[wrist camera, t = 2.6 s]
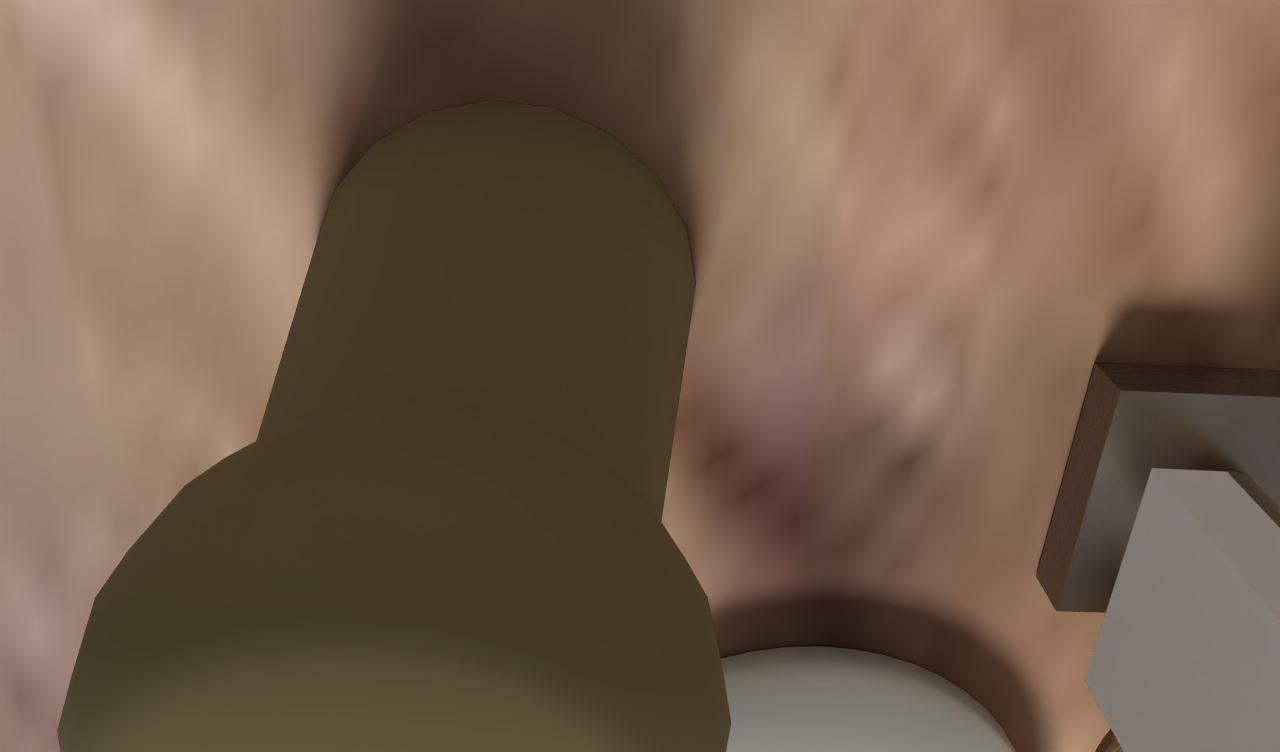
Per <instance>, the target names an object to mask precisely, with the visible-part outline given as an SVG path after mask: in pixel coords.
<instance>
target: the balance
mask: <svg viewBox="0 0 1280 752" xmlns="http://www.w3.org/2000/svg"><path fill="white" fill-rule="evenodd" d="M1152 468H1161V469H1182V470H1203V471H1224V472H1228V473H1229V474H1230V476H1231V477H1232V478H1233V479H1234V480H1235V481H1236V482H1237V483H1238V484H1239V485H1240V486H1241V487H1242V488H1243V489H1244V490H1245V491H1246V493H1247V494H1248V495H1249V496H1250V497H1251V498H1252V499H1253V500H1254V501H1255V502H1256V503H1257V504H1258V505H1259V506H1260V507H1261V508H1262V510H1263V511H1264V512H1265V513H1266V514H1267V515H1268V516H1269V517H1270V518H1271V519H1272V520H1273V521H1274V522H1275V523H1276V524H1277V525H1278V527H1279V528H1280V371H1268V370H1245V369H1222V368H1199V367H1175V366H1152V365H1129V364H1106V363H1095V365H1094V369H1093V372H1092V376H1091V380H1090V383H1089V387H1088V390H1087V394H1086V398H1085V401H1084V405H1083V408H1082V412H1081V416H1080V419H1079V423H1078V427H1077V430H1076V434H1075V437H1074V441H1073V445H1072V448H1071V452H1070V455H1069V459H1068V463H1067V466H1066V470H1065V474H1064V477H1063V481H1062V484H1061V488H1060V492H1059V495H1058V499H1057V502H1056V506H1055V510H1054V513H1053V517H1052V521H1051V524H1050V528H1049V531H1048V535H1047V539H1046V542H1045V546H1044V550H1043V553H1042V557H1041V560H1040V564H1039V568H1038V571H1037V575H1036V577H1037V579H1038V581H1039V582H1040V584H1041V586H1042V587H1043V589H1044V591H1045V593H1046V594H1047V596H1048V598H1049V599H1050V601H1051V603H1052V605H1053V606H1054V608H1055V610H1056V611H1072V612H1104V613H1106V610H1107V607H1108V604H1109V601H1110V598H1111V595H1112V592H1113V588H1114V585H1115V582H1116V579H1117V576H1118V573H1119V570H1120V566H1121V563H1122V560H1123V557H1124V554H1125V551H1126V548H1127V544H1128V541H1129V538H1130V535H1131V532H1132V529H1133V526H1134V522H1135V519H1136V516H1137V513H1138V510H1139V507H1140V504H1141V501H1142V497H1143V494H1144V491H1145V488H1146V485H1147V482H1148V479H1149V475H1150V472H1151V469H1152ZM1095 752H1123V750H1122V748H1121V746H1120V744H1119V742H1118V740H1117V739H1116V737H1115V735H1114V733H1113V731H1112V729H1110V730H1109V732H1108V733H1107V734H1106V735H1105V737H1104V738H1103V739H1102V741H1101V742H1100V744H1099V746H1098V747H1097V749H1096V751H1095Z"/></svg>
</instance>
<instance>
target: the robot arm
mask: <svg viewBox="0 0 1280 752" xmlns="http://www.w3.org/2000/svg"><path fill="white" fill-rule="evenodd" d="M1085 681H1086V683H1087V685H1088V687H1089V689H1090V691H1091V692H1092V694H1093V696H1094V698H1095V700H1096V702H1097V703H1098V705H1099V707H1100V709H1101V711H1102V713H1103V715H1104V716H1105V718H1106V720H1107V722H1108V724H1109V726H1110V728H1111V729H1112V731H1113V733H1114V735H1115V737H1116V739H1117V740H1118V742H1119V744H1120V746H1121V748H1122V750H1123V752H1280V528H1279V527H1278V525H1277V524H1276V523H1275V522H1274V521H1273V520H1272V519H1271V518H1270V517H1269V516H1268V515H1267V514H1266V513H1265V512H1264V511H1263V510H1262V508H1261V507H1260V506H1259V505H1258V504H1257V503H1256V502H1255V501H1254V500H1253V499H1252V498H1251V497H1250V496H1249V495H1248V494H1247V493H1246V491H1245V490H1244V489H1243V488H1242V487H1241V486H1240V485H1239V484H1238V483H1237V482H1236V481H1235V480H1234V479H1233V478H1232V477H1231V476H1230V474H1229V473H1228V472H1224V471H1203V470H1182V469H1161V468H1152V469H1151V472H1150V475H1149V479H1148V482H1147V485H1146V488H1145V491H1144V494H1143V497H1142V501H1141V504H1140V507H1139V510H1138V513H1137V516H1136V519H1135V522H1134V526H1133V529H1132V532H1131V535H1130V538H1129V541H1128V544H1127V548H1126V551H1125V554H1124V557H1123V560H1122V563H1121V566H1120V570H1119V573H1118V576H1117V579H1116V582H1115V585H1114V588H1113V592H1112V595H1111V598H1110V601H1109V604H1108V607H1107V610H1106V614H1105V617H1104V620H1103V623H1102V626H1101V629H1100V632H1099V636H1098V639H1097V642H1096V645H1095V648H1094V651H1093V654H1092V658H1091V661H1090V664H1089V667H1088V670H1087V673H1086V676H1085Z"/></svg>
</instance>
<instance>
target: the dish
mask: <svg viewBox="0 0 1280 752" xmlns="http://www.w3.org/2000/svg"><path fill="white" fill-rule="evenodd" d="M721 664H722V669H723V674H724V680H725V686H726V693H727V699H728V705H729V711H730V717H731V727H730V733H729V738H728V744H727V749H726V752H1016V751H1015V749H1014V747H1013V745H1012V744H1011V742H1010V740H1009V739H1008V737H1007V735H1006V733H1005V732H1004V730H1003V728H1002V727H1001V726H1000V725H999V723H998V722H997V721H996V720H995V719H994V718H993V716H992V715H991V714H990V713H989V712H988V710H987V709H986V708H985V707H983V706H982V705H981V704H980V703H979V702H978V701H976V700H975V699H974V698H973V697H972V696H971V695H969V694H968V693H967V692H966V691H964V690H963V689H961V688H959V687H958V686H956V685H955V684H953V683H951V682H950V681H948V680H947V679H945V678H943V677H942V676H939V675H937V674H935V673H933V672H931V671H928V670H926V669H924V668H922V667H920V666H917V665H915V664H912V663H909V662H906V661H902V660H899V659H896V658H893V657H890V656H887V655H882V654H877V653H872V652H866V651H861V650H856V649H847V648H834V647H822V646H813V647H783V648H775V649H767V650H759V651H751V652H747V653H743V654H738V655H734V656H730V657H725V658H721Z"/></svg>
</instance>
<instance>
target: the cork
mask: <svg viewBox="0 0 1280 752" xmlns="http://www.w3.org/2000/svg"><path fill="white" fill-rule="evenodd" d="M695 287H696V280H695V275H694V269H693V264H692V259H691V253H690V248H689V242H688V237H687V231H686V227H685V225H684V224H683V222H682V220H681V218H680V216H679V215H678V213H677V211H676V209H675V208H674V206H673V204H672V202H671V200H670V199H669V197H668V195H667V193H666V192H665V190H664V188H663V186H662V184H661V183H660V181H659V179H658V177H657V176H656V175H655V174H654V173H653V172H652V171H651V170H650V169H648V168H647V167H646V166H645V165H644V164H643V163H642V162H641V161H640V160H639V159H637V158H636V157H635V156H634V155H633V154H632V153H631V152H630V151H629V150H628V149H626V148H625V147H624V146H623V145H622V144H621V143H620V142H619V141H618V140H617V139H615V138H614V137H613V136H612V135H611V134H609V133H607V132H605V131H603V130H600V129H598V128H596V127H594V126H592V125H589V124H587V123H585V122H583V121H581V120H578V119H576V118H574V117H572V116H570V115H567V114H565V113H563V112H561V111H559V110H556V109H554V108H551V107H542V106H534V105H525V104H516V103H508V102H499V101H491V100H486V101H482V102H477V103H472V104H467V105H462V106H457V107H452V108H447V109H442V110H438V111H433V112H428V113H425V114H423V115H421V116H420V117H418V118H416V119H414V120H413V121H411V122H409V123H408V124H406V125H404V126H403V127H401V128H399V129H397V130H396V131H394V132H392V133H391V134H389V135H387V136H386V137H384V138H382V139H381V140H379V141H377V142H375V143H374V144H372V145H371V147H370V148H369V149H368V150H367V151H366V153H365V154H364V155H363V156H362V158H361V159H360V160H359V161H358V162H357V164H356V165H355V166H354V167H353V168H352V170H351V171H350V172H349V173H348V174H347V176H346V177H345V178H344V179H343V180H342V182H341V183H340V184H339V185H338V187H337V188H336V189H335V191H334V194H333V196H332V199H331V202H330V205H329V208H328V211H327V214H326V216H325V219H324V222H323V225H322V228H321V231H320V234H319V236H318V239H317V242H316V245H315V249H314V252H313V255H312V258H311V262H310V265H309V268H308V272H307V275H306V278H305V282H304V285H303V288H302V292H301V295H300V298H299V301H298V305H297V308H296V311H295V315H294V318H293V321H292V325H291V328H290V331H289V334H288V338H287V341H286V344H285V348H284V351H283V354H282V358H281V361H280V364H279V368H278V371H277V374H276V377H275V381H274V384H273V387H272V391H271V394H270V397H269V401H268V404H267V407H266V411H265V414H264V417H263V420H262V424H261V427H260V430H259V434H258V437H257V440H256V442H254V443H252V444H250V445H248V446H246V447H244V448H243V449H241V450H239V451H237V452H235V453H233V454H231V455H230V456H228V457H226V458H224V459H223V460H221V461H220V462H218V463H217V464H215V465H214V466H213V467H211V468H210V469H208V470H207V471H205V472H204V473H202V474H201V475H200V476H198V477H197V478H195V479H194V480H192V481H191V482H189V483H188V484H186V485H185V486H184V487H183V488H182V490H181V491H180V492H179V493H178V494H177V495H176V496H175V498H174V499H173V500H172V501H171V502H170V503H169V504H168V506H167V507H166V508H165V509H164V510H163V511H162V512H161V514H160V515H159V516H158V517H157V518H156V519H155V520H154V522H153V523H152V524H151V525H150V526H149V527H148V529H147V530H146V531H145V532H144V533H143V534H142V535H141V537H140V538H139V539H138V540H137V541H136V542H135V543H134V545H133V546H132V547H131V548H130V549H129V550H128V552H127V553H126V555H125V556H124V557H123V559H122V560H121V562H120V563H119V564H118V566H117V567H116V569H115V570H114V572H113V573H112V574H111V576H110V577H109V579H108V580H107V581H106V583H105V584H104V586H103V587H102V589H101V590H100V591H99V593H98V594H97V596H96V597H95V600H94V604H93V607H92V610H91V614H90V617H89V620H88V623H87V627H86V630H85V633H84V637H83V640H82V643H81V647H80V650H79V653H78V657H77V660H76V663H75V666H74V670H73V673H72V677H71V680H70V684H69V688H68V692H67V696H66V700H65V703H64V707H63V711H62V715H61V719H60V723H59V726H58V730H57V732H58V738H59V745H60V751H61V752H726V749H727V744H728V738H729V733H730V727H731V717H730V711H729V705H728V699H727V693H726V686H725V680H724V674H723V669H722V664H721V659H720V654H719V650H718V645H717V640H716V635H715V630H714V626H713V621H712V616H711V611H710V606H709V602H708V597H707V595H706V594H705V592H704V590H703V588H702V587H701V585H700V583H699V582H698V580H697V578H696V576H695V575H694V573H693V571H692V569H691V568H690V566H689V564H688V562H687V561H686V559H685V557H684V556H683V554H682V553H681V551H680V550H679V548H678V547H677V545H676V544H675V542H674V541H673V539H672V538H671V536H670V535H669V533H668V532H667V530H666V529H665V527H664V526H663V524H662V523H661V520H662V513H663V506H664V500H665V493H666V486H667V479H668V472H669V465H670V458H671V452H672V445H673V438H674V431H675V424H676V417H677V410H678V403H679V397H680V390H681V383H682V376H683V369H684V362H685V355H686V349H687V342H688V335H689V328H690V321H691V314H692V307H693V301H694V294H695Z"/></svg>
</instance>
